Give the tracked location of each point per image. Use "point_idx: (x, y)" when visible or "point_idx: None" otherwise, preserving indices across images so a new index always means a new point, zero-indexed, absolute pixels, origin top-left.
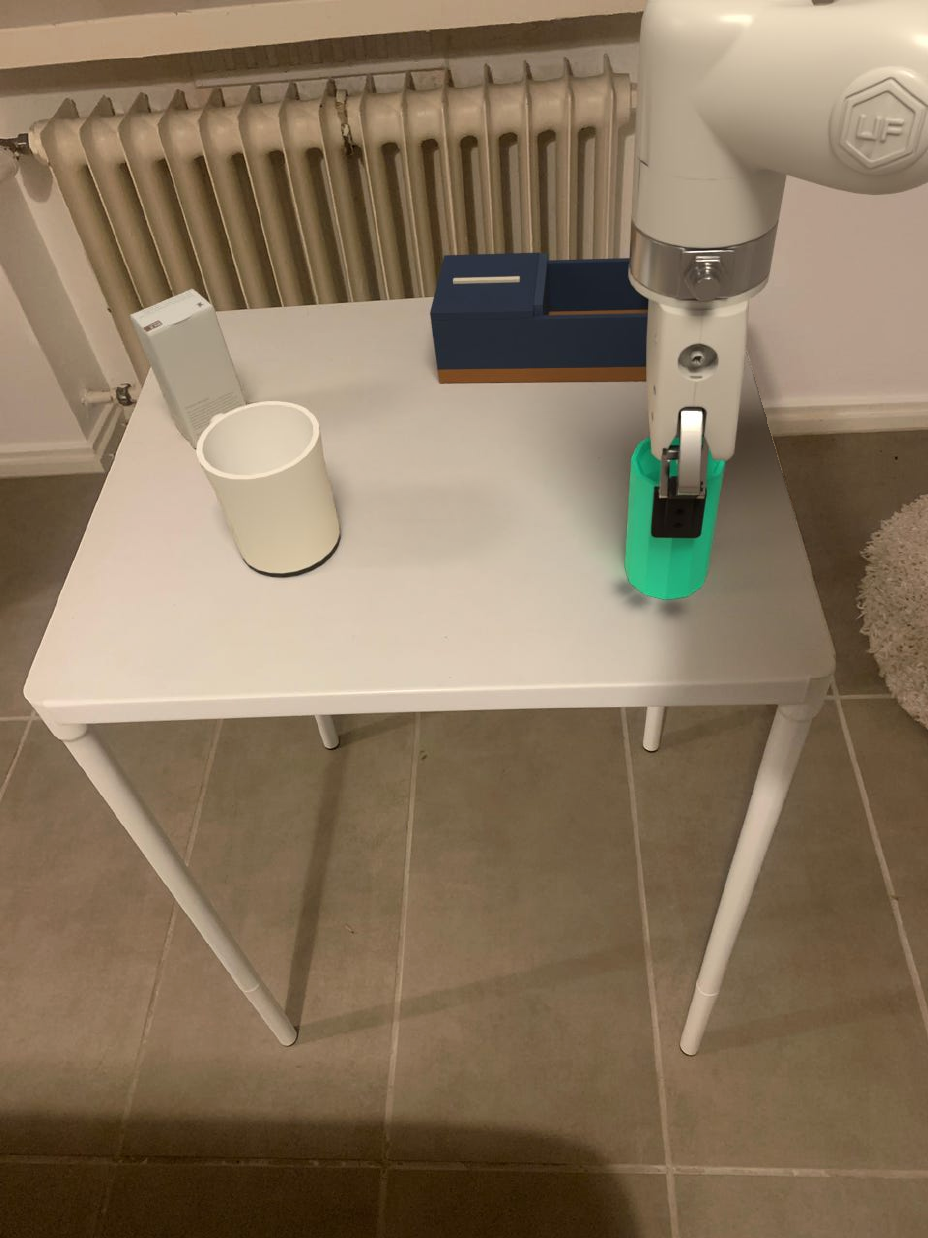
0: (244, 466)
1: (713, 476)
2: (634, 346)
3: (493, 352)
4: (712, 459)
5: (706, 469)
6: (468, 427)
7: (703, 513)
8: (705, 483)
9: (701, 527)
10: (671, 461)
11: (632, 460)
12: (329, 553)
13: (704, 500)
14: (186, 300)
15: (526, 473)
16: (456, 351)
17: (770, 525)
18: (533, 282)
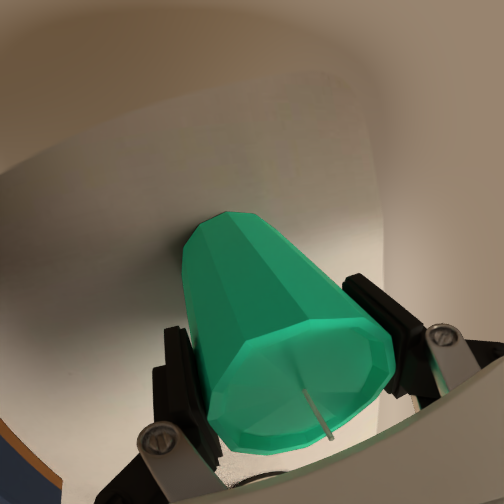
0: None
1: (370, 326)
2: None
3: (29, 479)
4: (284, 340)
5: (476, 365)
6: (96, 462)
7: (388, 296)
8: (465, 344)
9: (369, 281)
10: (296, 400)
11: (312, 443)
12: (275, 474)
13: (410, 314)
14: None
15: (128, 422)
16: (50, 496)
17: (111, 143)
18: None
